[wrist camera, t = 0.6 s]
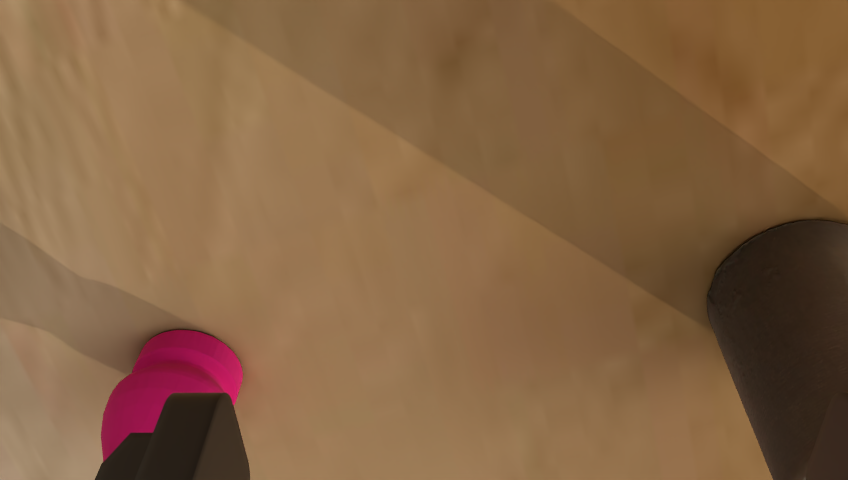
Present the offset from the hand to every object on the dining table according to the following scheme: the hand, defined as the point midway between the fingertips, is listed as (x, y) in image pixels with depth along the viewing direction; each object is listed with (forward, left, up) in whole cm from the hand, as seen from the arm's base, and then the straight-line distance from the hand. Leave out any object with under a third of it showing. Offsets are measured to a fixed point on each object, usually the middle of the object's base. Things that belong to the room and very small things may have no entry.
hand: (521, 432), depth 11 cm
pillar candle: (+20, +17, -28) cm, 39 cm away
